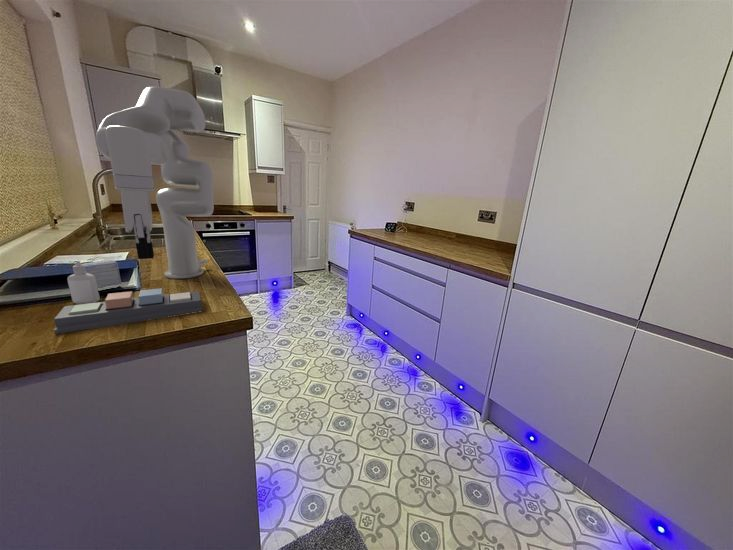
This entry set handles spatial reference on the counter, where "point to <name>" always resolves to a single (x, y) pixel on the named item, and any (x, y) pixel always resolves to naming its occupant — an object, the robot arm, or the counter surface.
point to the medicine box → (104, 272)
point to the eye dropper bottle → (83, 285)
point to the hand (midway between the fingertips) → (146, 257)
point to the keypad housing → (125, 313)
